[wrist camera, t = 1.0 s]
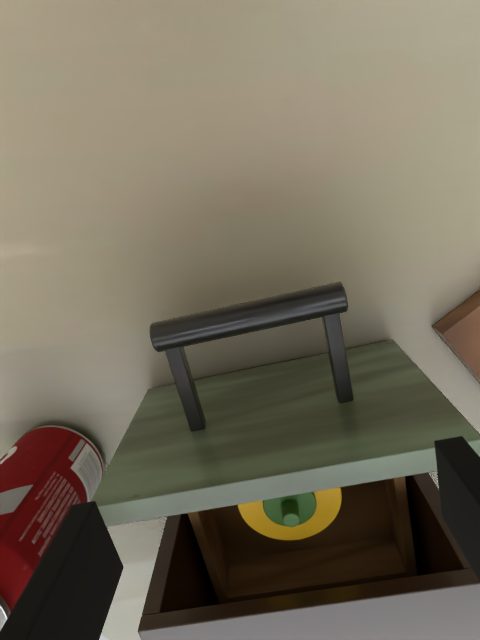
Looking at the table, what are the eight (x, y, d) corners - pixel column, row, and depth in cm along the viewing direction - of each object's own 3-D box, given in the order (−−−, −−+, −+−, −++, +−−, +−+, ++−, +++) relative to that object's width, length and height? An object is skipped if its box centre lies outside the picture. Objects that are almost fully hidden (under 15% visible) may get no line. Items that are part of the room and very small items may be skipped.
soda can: (105, 423, 30) (14, 572, 18) (108, 497, 32) (27, 671, 20) (14, 416, 30) (-135, 559, 18) (23, 490, 32) (-105, 660, 20)
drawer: (119, 305, 26) (31, 383, 16) (381, 246, 25) (475, 289, 14) (205, 558, 33) (183, 730, 22) (416, 525, 31) (499, 695, 21)
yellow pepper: (284, 378, 26) (297, 454, 19) (339, 433, 27) (371, 524, 20) (223, 428, 28) (212, 517, 20) (277, 478, 29) (286, 579, 21)
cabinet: (178, 472, 31) (137, 631, 20) (403, 431, 29) (495, 581, 18) (228, 619, 36) (217, 813, 25) (424, 592, 34) (507, 787, 23)
